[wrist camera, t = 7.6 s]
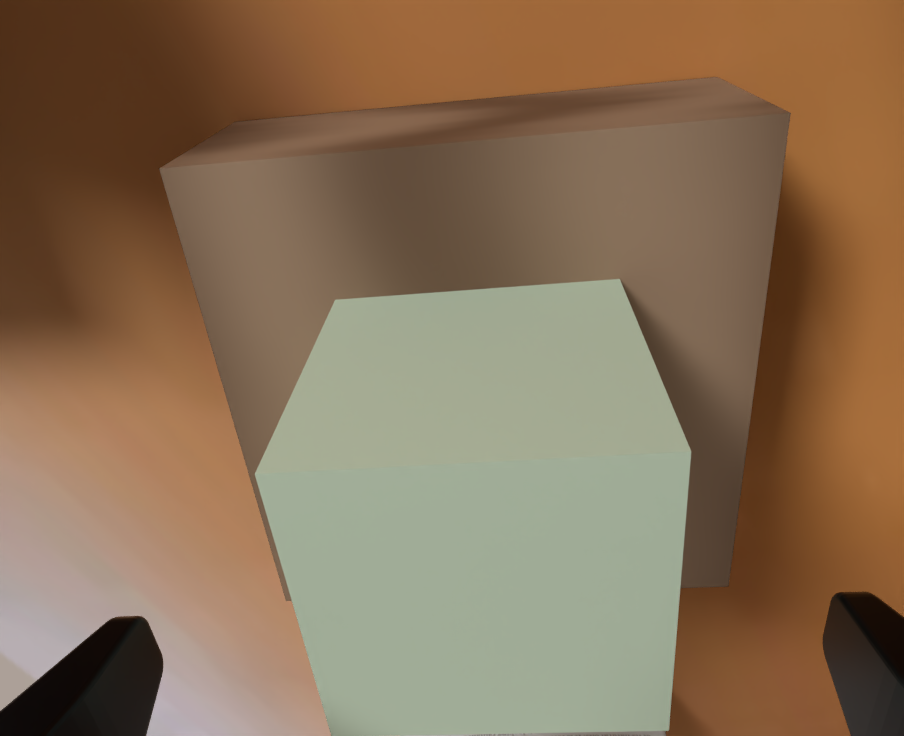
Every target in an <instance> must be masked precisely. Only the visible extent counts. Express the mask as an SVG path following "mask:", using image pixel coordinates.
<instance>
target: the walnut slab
mask: <svg viewBox="0 0 904 736" xmlns="http://www.w3.org/2000/svg"><path fill="white" fill-rule="evenodd" d="M790 114H791V113H790V112H788V111H786V110H783V109H781V108H779V107H777V106H775V105H773V104H771V103H769V102H767V101H765V100H763V99H761V98H759V97H757V96H755V95H753V94H751V93H749V92H747V91H745V90H743V89H741V88H739V87H737V86H735V85H733V84H731V83H728V82H726V81H724V80H722V79H720V78H718V77H712V78H701V79H690V80H680V81H669V82H658V83H647V84H637V85H626V86H615V87H604V88H594V89H583V90H572V91H561V92H551V93H540V94H529V95H518V96H507V97H497V98H486V99H475V100H464V101H454V102H443V103H432V104H421V105H411V106H400V107H389V108H378V109H368V110H357V111H346V112H335V113H325V114H314V115H303V116H292V117H282V118H271V119H260V120H249V121H238V122H234V123H232V124H231V125H229V126H227V127H226V128H224V129H223V130H221V131H219V132H218V133H216V134H214V135H213V136H211V137H210V138H208V139H206V140H205V141H203V142H201V143H200V144H198V145H197V146H195V147H193V148H192V149H190V150H188V151H187V152H185V153H183V154H182V155H180V156H179V157H177V158H175V159H174V160H172V161H170V162H169V163H167V164H166V165H164V166H162V167H161V168H159V170H160V173H161V177H162V180H163V183H164V187H165V190H166V194H167V197H168V200H169V204H170V207H171V211H172V214H173V217H174V221H175V224H176V228H177V231H178V235H179V238H180V241H181V245H182V248H183V252H184V255H185V258H186V262H187V265H188V269H189V272H190V275H191V279H192V282H193V286H194V289H195V292H196V296H197V299H198V303H199V306H200V309H201V313H202V316H203V320H204V323H205V326H206V330H207V333H208V337H209V340H210V343H211V347H212V350H213V354H214V357H215V360H216V364H217V367H218V371H219V374H220V378H221V381H222V384H223V388H224V391H225V395H226V398H227V401H228V405H229V408H230V412H231V415H232V418H233V422H234V425H235V429H236V432H237V435H238V439H239V442H240V446H241V449H242V452H243V456H244V459H245V463H246V466H247V469H248V473H249V476H250V480H251V483H252V486H253V490H254V493H255V497H256V500H257V503H258V507H259V510H260V514H261V517H262V521H263V524H264V527H265V531H266V534H267V538H268V541H269V544H270V548H271V551H272V555H273V558H274V561H275V565H276V568H277V572H278V575H279V578H280V582H281V585H282V589H283V592H284V595H285V599H286V601H292V600H291V596H290V593H289V589H288V586H287V582H286V579H285V576H284V572H283V569H282V565H281V562H280V559H279V555H278V552H277V548H276V545H275V542H274V538H273V535H272V531H271V528H270V525H269V521H268V518H267V514H266V511H265V508H264V504H263V501H262V497H261V494H260V490H259V487H258V484H257V480H256V477H255V472H256V470H257V468H258V466H259V464H260V462H261V459H262V457H263V455H264V453H265V451H266V449H267V446H268V444H269V442H270V440H271V438H272V436H273V433H274V431H275V429H276V427H277V425H278V423H279V420H280V418H281V416H282V414H283V412H284V410H285V407H286V405H287V403H288V401H289V399H290V397H291V394H292V392H293V390H294V388H295V386H296V384H297V381H298V379H299V377H300V375H301V373H302V371H303V368H304V366H305V364H306V362H307V360H308V358H309V355H310V353H311V351H312V349H313V347H314V345H315V342H316V340H317V338H318V336H319V334H320V332H321V329H322V327H323V325H324V323H325V321H326V319H327V316H328V314H329V312H330V310H331V308H332V306H333V303H334V301H335V300H339V299H353V298H366V297H380V296H394V295H407V294H421V293H434V292H448V291H462V290H475V289H489V288H503V287H516V286H530V285H544V284H557V283H571V282H584V281H598V280H612V279H620V281H621V283H622V286H623V288H624V290H625V293H626V295H627V298H628V300H629V303H630V305H631V307H632V310H633V312H634V315H635V317H636V319H637V322H638V324H639V327H640V329H641V331H642V334H643V336H644V339H645V341H646V344H647V346H648V348H649V351H650V353H651V356H652V358H653V360H654V363H655V365H656V368H657V370H658V372H659V375H660V377H661V380H662V382H663V385H664V387H665V389H666V392H667V394H668V397H669V399H670V401H671V404H672V406H673V409H674V411H675V413H676V416H677V418H678V421H679V423H680V426H681V428H682V430H683V433H684V435H685V438H686V440H687V442H688V445H689V447H690V450H691V461H690V474H689V486H688V499H687V511H686V524H685V536H684V549H683V561H682V574H681V586H680V588H697V587H728V586H729V578H730V571H731V563H732V556H733V548H734V540H735V533H736V525H737V517H738V510H739V502H740V495H741V487H742V479H743V472H744V464H745V456H746V449H747V441H748V434H749V426H750V418H751V411H752V403H753V395H754V388H755V380H756V373H757V365H758V357H759V350H760V342H761V335H762V327H763V319H764V312H765V304H766V296H767V289H768V281H769V274H770V266H771V258H772V251H773V243H774V235H775V228H776V220H777V213H778V205H779V197H780V190H781V182H782V174H783V167H784V159H785V152H786V144H787V136H788V129H789V121H790Z"/></svg>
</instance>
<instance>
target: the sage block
mask: <svg viewBox="0 0 904 736" xmlns="http://www.w3.org/2000/svg"><path fill="white" fill-rule="evenodd" d="M690 461H691V450H690V447H689V445H688V442H687V440H686V438H685V435H684V433H683V430H682V428H681V426H680V423H679V421H678V418H677V416H676V413H675V411H674V409H673V406H672V404H671V401H670V399H669V397H668V394H667V392H666V389H665V387H664V385H663V382H662V380H661V377H660V375H659V372H658V370H657V368H656V365H655V363H654V360H653V358H652V356H651V353H650V351H649V348H648V346H647V344H646V341H645V339H644V336H643V334H642V331H641V329H640V327H639V324H638V322H637V319H636V317H635V315H634V312H633V310H632V307H631V305H630V303H629V300H628V298H627V295H626V293H625V290H624V288H623V286H622V283H621V281H620V279H612V280H598V281H584V282H571V283H557V284H544V285H530V286H516V287H503V288H489V289H475V290H462V291H448V292H434V293H421V294H407V295H394V296H380V297H366V298H353V299H339V300H335V301H334V303H333V306H332V308H331V310H330V312H329V314H328V316H327V319H326V321H325V323H324V325H323V327H322V329H321V332H320V334H319V336H318V338H317V340H316V342H315V345H314V347H313V349H312V351H311V353H310V355H309V358H308V360H307V362H306V364H305V366H304V368H303V371H302V373H301V375H300V377H299V379H298V381H297V384H296V386H295V388H294V390H293V392H292V394H291V397H290V399H289V401H288V403H287V405H286V407H285V410H284V412H283V414H282V416H281V418H280V420H279V423H278V425H277V427H276V429H275V431H274V433H273V436H272V438H271V440H270V442H269V444H268V446H267V449H266V451H265V453H264V455H263V457H262V459H261V462H260V464H259V466H258V468H257V470H256V472H255V477H256V480H257V484H258V487H259V490H260V494H261V497H262V501H263V504H264V508H265V511H266V514H267V518H268V521H269V525H270V528H271V531H272V535H273V538H274V542H275V545H276V548H277V552H278V555H279V559H280V562H281V565H282V569H283V572H284V576H285V579H286V582H287V586H288V589H289V593H290V596H291V600H292V603H293V606H294V610H295V613H296V617H297V620H298V623H299V627H300V630H301V634H302V637H303V640H304V644H305V647H306V651H307V654H308V657H309V661H310V664H311V668H312V671H313V675H314V678H315V681H316V685H317V688H318V692H319V695H320V698H321V702H322V705H323V709H324V712H325V715H326V719H327V722H328V726H329V729H330V732H331V736H406V735H462V734H517V733H573V732H629V731H669V723H670V711H671V698H672V686H673V674H674V661H675V649H676V636H677V624H678V611H679V599H680V586H681V574H682V561H683V549H684V536H685V524H686V511H687V499H688V486H689V474H690Z"/></svg>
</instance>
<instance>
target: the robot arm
mask: <svg viewBox="0 0 904 736" xmlns="http://www.w3.org/2000/svg"><path fill="white" fill-rule="evenodd" d="M823 650H824V655H825V658H826V661H827V664H828V667H829V670H830V673H831V676H832V679H833V682H834V686H835V689H836V692H837V695H838V698H839V701H840V704H841V707H842V710H843V713H844V716H845V719H846V722H847V725H848V728H849V731H850V734H851V736H904V617H903V616H902V615H900V614H899V613H898V612H896V611H895V610H894V609H892V608H891V607H890V606H888V605H887V604H886V603H884V602H883V601H882V600H881V599H879V598H878V597H876V596H875V595H873V594H871V593H869V592H840V593H836V594H835V595H834V596H833V597H832V600H831V603H830V607H829V612H828V616H827V621H826V625H825V629H824V634H823ZM162 673H163V657H162V654H161V651H160V649H159V647H158V644H157V642H156V640H155V637H154V635H153V633H152V630H151V628H150V626H149V623H148V622H147V620H146V619H145V618H143V617H141V616H124V617H115V618H112V619H110V620H109V621H107V622H106V623H105V624H104V625H102V626H101V627H100V628H99V629H98V630H96V631H95V632H94V633H93V634H92V635H90V636H89V637H88V638H87V639H86V640H85V641H83V642H82V643H81V644H80V645H79V646H77V647H76V648H75V649H74V650H73V651H71V652H70V653H69V654H68V655H67V656H65V657H64V658H63V659H62V660H61V661H59V662H58V663H57V664H56V665H55V666H54V667H52V668H51V669H50V670H49V671H48V672H46V673H45V674H44V675H43V676H42V677H40V678H39V679H38V680H37V681H36V682H34V683H33V684H32V685H31V686H30V687H29V688H28V689H26V690H25V691H24V692H23V693H21V694H20V695H19V696H18V697H17V698H15V699H14V700H13V701H12V702H11V703H9V704H8V705H7V706H6V707H5V708H3V709H2V710H1V711H0V736H146V734H147V730H148V726H149V722H150V719H151V715H152V711H153V707H154V704H155V700H156V696H157V692H158V689H159V685H160V681H161V677H162Z"/></svg>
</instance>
